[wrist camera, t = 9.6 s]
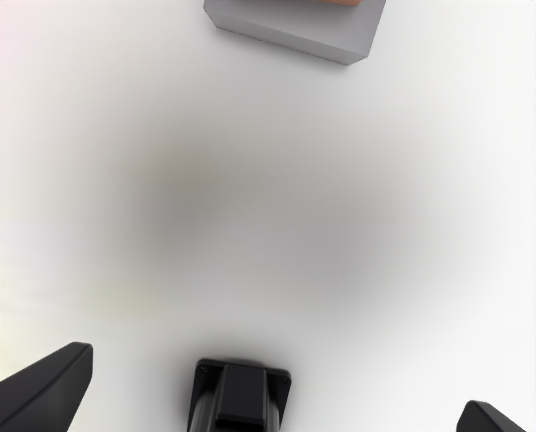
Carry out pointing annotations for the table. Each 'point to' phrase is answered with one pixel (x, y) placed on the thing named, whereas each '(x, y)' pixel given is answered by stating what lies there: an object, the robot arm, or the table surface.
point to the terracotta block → (343, 2)
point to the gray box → (303, 25)
